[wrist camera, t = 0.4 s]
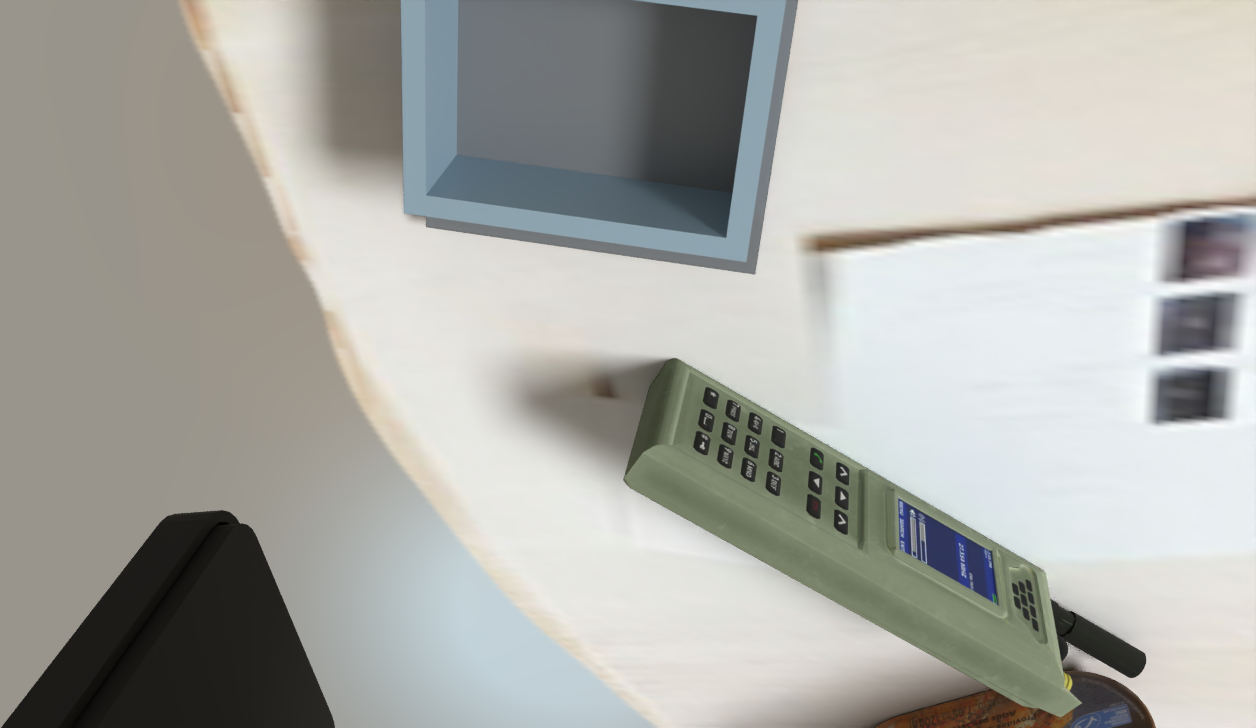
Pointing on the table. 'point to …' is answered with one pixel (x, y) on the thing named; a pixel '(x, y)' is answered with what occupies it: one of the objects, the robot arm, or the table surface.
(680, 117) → the light blue open box
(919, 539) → the handheld radio
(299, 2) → the table surface
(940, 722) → the tin
